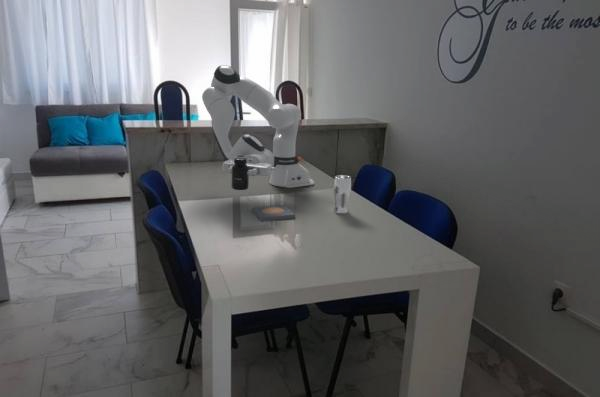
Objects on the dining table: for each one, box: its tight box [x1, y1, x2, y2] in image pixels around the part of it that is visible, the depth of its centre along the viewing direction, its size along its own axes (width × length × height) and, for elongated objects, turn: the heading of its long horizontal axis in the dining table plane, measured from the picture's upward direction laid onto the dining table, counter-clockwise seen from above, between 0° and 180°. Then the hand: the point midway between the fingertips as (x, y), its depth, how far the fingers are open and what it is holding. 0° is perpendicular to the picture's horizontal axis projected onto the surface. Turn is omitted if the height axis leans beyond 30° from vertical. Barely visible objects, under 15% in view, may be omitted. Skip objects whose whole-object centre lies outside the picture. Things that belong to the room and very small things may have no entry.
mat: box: [251, 204, 296, 222], centre depth 189 cm, size 14×13×2 cm
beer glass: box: [333, 174, 352, 215], centre depth 193 cm, size 7×7×15 cm
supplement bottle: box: [230, 158, 250, 191], centre depth 186 cm, size 7×7×12 cm
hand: (239, 172), depth 185 cm, fingers closed on supplement bottle, 7 cm apart
